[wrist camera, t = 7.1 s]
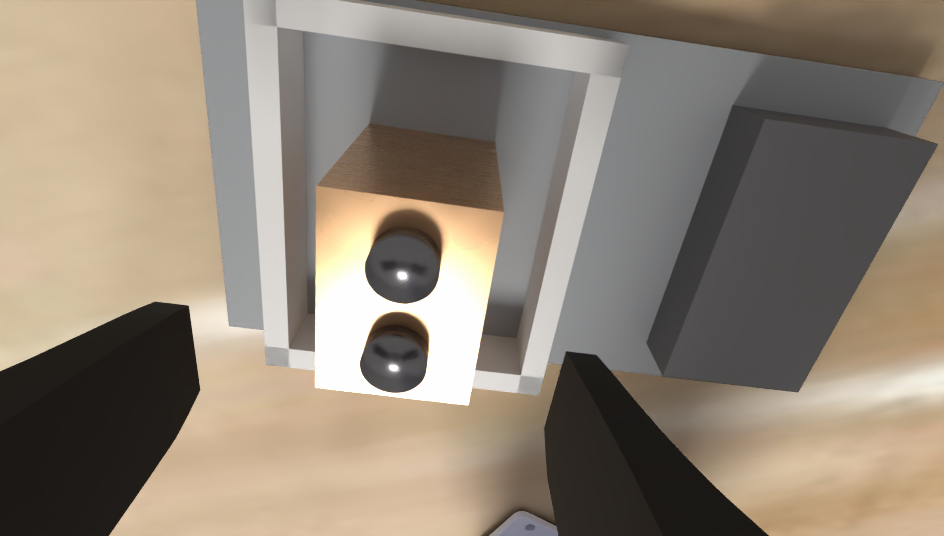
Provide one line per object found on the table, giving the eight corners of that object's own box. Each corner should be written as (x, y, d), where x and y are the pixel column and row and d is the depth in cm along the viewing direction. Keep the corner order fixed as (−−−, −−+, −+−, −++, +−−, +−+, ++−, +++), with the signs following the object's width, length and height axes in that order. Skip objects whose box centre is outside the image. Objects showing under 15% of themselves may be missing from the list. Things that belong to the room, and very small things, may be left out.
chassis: (919, 77, 16) (1012, 94, 13) (766, 373, 22) (809, 429, 19) (209, -32, 15) (146, -39, 12) (239, 311, 21) (201, 362, 18)
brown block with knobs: (495, 141, 16) (505, 223, 10) (470, 290, 19) (468, 421, 13) (369, 123, 16) (307, 195, 10) (361, 276, 19) (308, 403, 13)
